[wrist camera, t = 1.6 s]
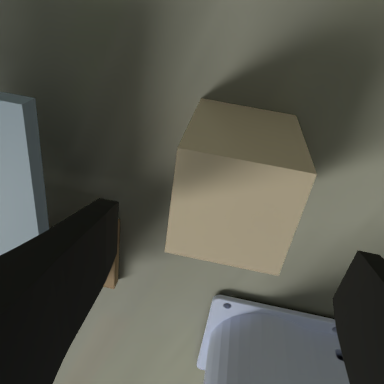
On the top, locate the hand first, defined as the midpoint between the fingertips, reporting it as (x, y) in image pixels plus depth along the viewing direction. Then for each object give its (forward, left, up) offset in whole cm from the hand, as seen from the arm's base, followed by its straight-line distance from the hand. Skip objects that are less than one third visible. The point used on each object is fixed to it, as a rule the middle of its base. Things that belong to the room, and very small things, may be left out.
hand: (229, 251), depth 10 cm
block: (0, 0, -8) cm, 8 cm away
